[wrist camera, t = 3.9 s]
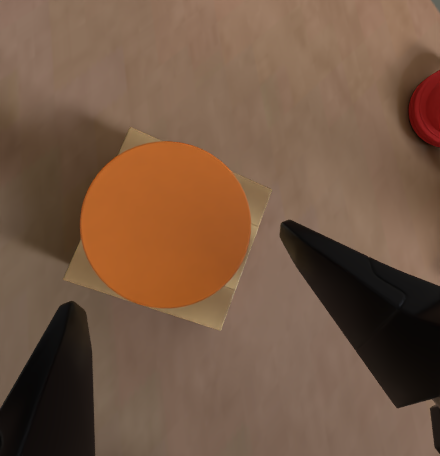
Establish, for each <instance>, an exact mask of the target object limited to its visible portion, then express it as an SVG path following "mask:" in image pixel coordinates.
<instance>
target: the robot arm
mask: <svg viewBox="0 0 440 456" xmlns="http://www.w3.org/2000/svg"><path fill="white" fill-rule="evenodd" d="M280 238H281V240H282V242H283V244H284V246H285V248H286V249H287V251H288V253H289V255H290V257H291V259H292V260H293V262H294V264H295V266H296V267H297V269H298V270H299V272H300V273H301V274H302V276H303V277H304V279H305V280H306V281H307V283H308V284H309V286H310V287H311V288H312V290H313V291H314V293H315V294H316V295H317V297H318V298H319V300H320V301H321V302H322V304H323V305H324V307H325V308H326V310H327V311H328V312H329V314H330V315H331V317H332V318H333V319H334V321H335V322H336V324H337V325H338V326H339V328H340V329H341V331H342V332H343V333H344V335H345V336H346V338H347V339H348V340H349V342H350V343H351V345H352V346H353V347H354V349H355V350H356V352H357V353H358V355H359V356H360V358H361V359H362V360H363V362H364V363H365V365H366V366H367V367H368V369H369V370H370V372H371V373H372V374H373V376H374V377H375V379H376V380H377V381H378V383H379V384H380V386H381V387H382V388H383V390H384V391H385V393H386V394H387V395H388V397H389V398H390V400H391V401H392V402H393V404H394V405H395V406H396V408H401V407H404V406H408V405H411V404H415V403H419V402H422V401H426V400H430V399H432V400H433V401H434V402H435V403H436V405H434V406H432V407H431V408H430V412H431V421H432V429H433V438H434V446H435V448H436V450H437V451H438V452H439V454H440V286H438V285H435V284H433V283H430V282H427V281H425V280H422V279H420V278H417V277H415V276H412V275H409V274H407V273H404V272H402V271H399V270H397V269H395V268H392V267H390V266H388V265H385V264H383V263H381V262H379V261H377V260H375V259H372V258H370V257H369V258H368V256H366V255H364V254H362V253H360V252H358V251H355V250H353V249H351V248H349V247H347V246H345V245H343V244H341V243H339V242H336V241H334V240H332V239H330V238H328V237H326V236H324V235H322V234H320V233H317V232H315V231H313V230H311V229H309V228H307V227H305V226H303V225H301V224H298V223H296V222H294V221H292V220H287V221H284V222H282V223H281V226H280ZM0 456H95V436H94V402H93V368H92V348H91V341H90V335H89V328H88V322H87V316H86V312H85V310H84V309H83V308H81V307H80V306H79V305H78V304H76V303H75V302H74V301H70V302H67V303H64V304H62V305H61V306H60V307H59V308H58V310H57V312H56V313H55V315H54V317H53V318H52V320H51V322H50V324H49V325H48V327H47V329H46V331H45V332H44V334H43V336H42V337H41V339H40V341H39V343H38V344H37V346H36V348H35V350H34V351H33V353H32V355H31V356H30V358H29V360H28V362H27V363H26V365H25V367H24V369H23V370H22V372H21V374H20V375H19V377H18V379H17V381H16V382H15V384H14V386H13V388H12V389H11V391H10V393H9V394H8V396H7V398H6V400H5V401H4V403H3V405H2V407H1V408H0Z"/></svg>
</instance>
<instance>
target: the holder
mask: <svg viewBox="0 0 440 456" xmlns="http://www.w3.org/2000/svg"><path fill="white" fill-rule="evenodd" d="M159 141H161V140H159V139H157V138H154V137H152V136H150V135H148V134H145V133H143V132H141V131H139V130H136V129H134V128H132V127H130V128H129V130H128V132H127V135H126V137H125V139H124V142H123V144H122V146H121V148H120V151H119V153H118V155H119V154H121V153H123V152H125V151H126V150H129V149H131V148H133V147H136V146H139V145H142V144H146V143H152V142H159ZM118 155H117V156H118ZM232 173H233V174H234V175H235V177H236V178H237V180H238V181H239V183H240V184H241V186H242V188H243V190H244V192H245V195H246V198H247V201H248V204H249V209H250V214H251V236H250V242H249V246H248V249H247V253H246V255H245V257H244V260H243V262H242V264H241V265H240V267H239V269H238V270H237V272H236V273H235V275H234V276H233V277H232V278H231V280H230V281H229V282H228V283H227V284H226V285H225V286H224V287H223V288H221V289H220V290H219V291H217V292H216V293H215V294H213V295H212V296H210V297H208V298H206V299H205V300H202V301H200V302H197V303H195V304H192V305H188V306H185V307H178V308H153V307H148V308H152V309H155V310H158V311H161V312H164V313H167V314H170V315H173V316H176V317H179V318H182V319H185V320H188V321H192V322H195V323H198V324H201V325H204V326H207V327H210V328H213V329H216V330H219V331H221V328H222V326H223V323H224V320H225V317H226V315H227V312H228V309H229V307H230V304H231V301H232V298H233V296H234V293H235V290H236V288H237V285H238V282H239V279H240V277H241V274H242V271H243V269H244V266H245V263H246V260H247V258H248V255H249V252H250V249H251V247H252V244H253V241H254V239H255V236H256V233H257V230H258V227H259V225H260V222H261V219H262V216H263V214H264V211H265V208H266V205H267V203H268V200H269V197H270V195H271V192H272V189H270V188H268V187H265V186H263V185H261V184H258V183H256V182H254V181H252V180H249V179H247V178H245V177H243V176H240V175H238V174H236V173H234V172H232ZM63 280H65V281H69V282H72V283H75V284H78V285H81V286H84V287H87V288H90V289H93V290H96V291H99V292H102V293H105V294H109V295H112V296H115V297H118V298H121V299H124V300H127V299H125V298H123V297H122V296H120V295H118V294H117V293H115V292H114V291H113V290H111V289H110V288H109V287H108V286H107V285H106V284H105V283H104V282H103V281H102V280H101V279H100V278H99V277H98V275H97V274H96V273H95V271H94V270H93V268H92V267H91V265H90V263H89V261H88V259H87V257H86V254H85V251H84V249H83V245H82V240H81V239H80V242H79V244H78V246H77V249H76V251H75V253H74V255H73V258H72V260H71V262H70V265H69V267H68V269H67V271H66V274H65V276H64V278H63ZM127 301H129V300H127ZM130 302H132V301H130ZM133 303H134V302H133ZM136 304H137V303H136ZM142 306H143V305H142ZM145 307H147V306H145Z"/></svg>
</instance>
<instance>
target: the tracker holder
mask: <svg viewBox="0 0 440 456" xmlns="http://www.w3.org/2000/svg"><path fill="white" fill-rule="evenodd" d="M408 111H409V119H410V123H411V126H412V128H413V130H414V131H415V132H416V134H417V135H418V136H419V137H420V138H421V139H423V140H424V141H425V142H427V143H429V144H431V145H433V146H436V147H440V70H439V71H437V72H435V73H434V74H432V75H430V76H429V77H427V78H426V79H425V80H424V81H422V82H421V83H420V84H419V85H418V86H417V88H416V89H415V91H414V93H413V95H412V97H411V100H410V103H409V110H408Z"/></svg>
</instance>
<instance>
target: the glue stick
mask: <svg viewBox="0 0 440 456" xmlns="http://www.w3.org/2000/svg"><path fill="white" fill-rule="evenodd" d="M80 233H81V240H82V245H83V249H84V251H85V254H86V257H87V259H88V261H89V263H90V265H91V267H92V268H93V270H94V271H95V273H96V274H97V275H98V277H99V278H100V279H101V280H102V281H103V282H104V283H105V284H106V285H107V286H108V287H109V288H110V289H111V290H113V291H114V292H115V293H117V294H118V295H120V296H122V297H123V298H125V299H127V300H129V301H132V302H134V303H137V304H139V305H143V306H147V307H153V308H178V307H185V306H188V305H192V304H195V303H197V302H200V301H202V300H205V299H206V298H208V297H210V296H212V295H213V294H215V293H216V292H217V291H219V290H220V289H221V288H223V287H224V286H225V285H226V284H227V283H228V282H229V281H230V280H231V278H232V277H233V276H234V275H235V273H236V272H237V270H238V269H239V267H240V265H241V264H242V262H243V260H244V257H245V255H246V253H247V249H248V246H249V242H250V236H251V214H250V209H249V204H248V201H247V198H246V195H245V192H244V190H243V188H242V186H241V184H240V183H239V181H238V180H237V178H236V177H235V175H234V174H233V173H232V172H231V171H230V169H229V168H228V167H227V166H226V165H225V164H223V163H222V162H221V161H220V160H219V159H217V158H216V157H215V156H213V155H212V154H210V153H208V152H206V151H204V150H202V149H200V148H198V147H195V146H192V145H189V144H185V143H180V142H171V141H159V142H152V143H146V144H142V145H139V146H136V147H133V148H131V149H129V150H126V151H125V152H123V153H121V154H119V155H118V156H116V157H115V158H114V159H112V160H111V161H110V162H109V163H107V164H106V165H105V166H104V167H103V168H102V169H101V171H100V172H99V173H98V174H97V176H96V177H95V178H94V180H93V181H92V183H91V185H90V187H89V189H88V190H87V193H86V195H85V198H84V201H83V205H82V210H81V215H80Z"/></svg>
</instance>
